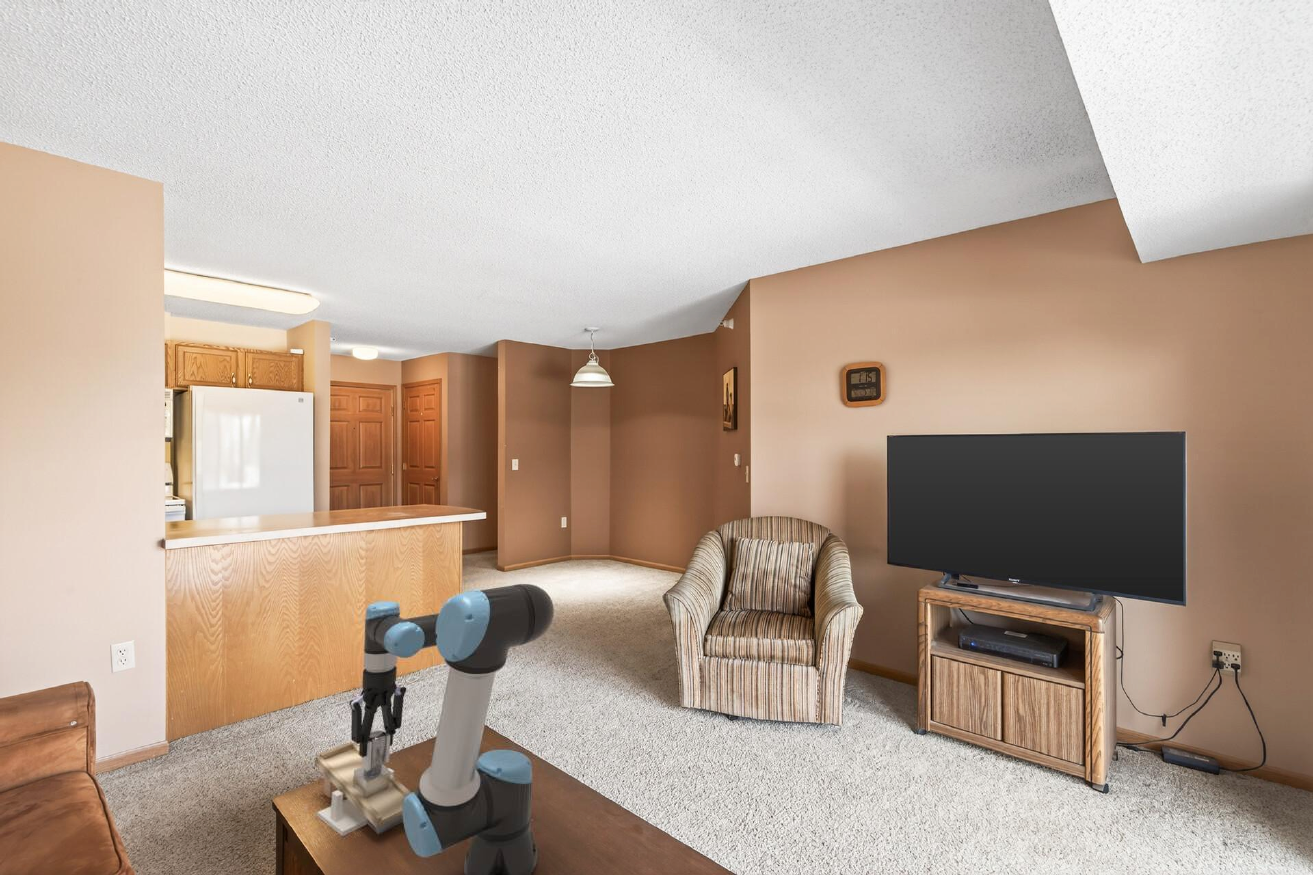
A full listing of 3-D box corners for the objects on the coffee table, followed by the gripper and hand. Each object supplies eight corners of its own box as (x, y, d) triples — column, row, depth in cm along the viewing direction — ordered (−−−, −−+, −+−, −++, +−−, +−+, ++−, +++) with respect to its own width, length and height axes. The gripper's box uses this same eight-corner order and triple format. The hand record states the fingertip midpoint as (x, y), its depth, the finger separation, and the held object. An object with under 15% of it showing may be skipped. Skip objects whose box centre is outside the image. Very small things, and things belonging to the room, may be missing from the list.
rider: (388, 787, 146) (395, 736, 145) (364, 798, 141) (371, 745, 140) (376, 775, 149) (382, 725, 148) (352, 785, 144) (358, 734, 144)
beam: (416, 816, 142) (419, 795, 142) (373, 838, 134) (376, 816, 133) (353, 758, 160) (356, 739, 159) (312, 774, 151) (314, 755, 151)
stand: (406, 804, 149) (407, 776, 150) (342, 836, 136) (343, 805, 137) (363, 776, 161) (365, 750, 162) (300, 803, 148) (302, 774, 149)
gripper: (403, 654, 154) (399, 746, 153) (337, 673, 140) (331, 773, 139) (420, 661, 150) (416, 755, 149) (353, 680, 136) (348, 784, 135)
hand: (375, 764), depth 144 cm, fingers closed on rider, 4 cm apart
